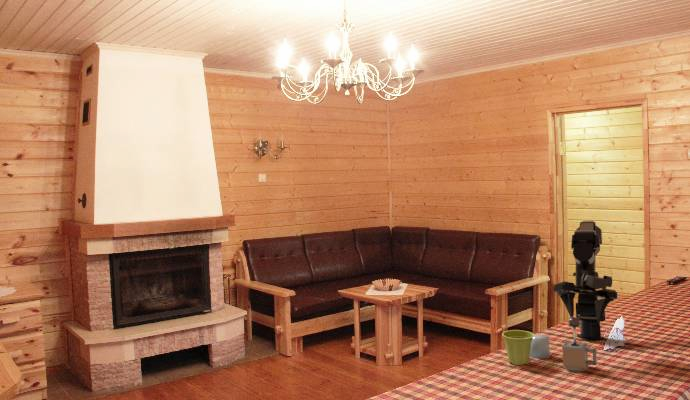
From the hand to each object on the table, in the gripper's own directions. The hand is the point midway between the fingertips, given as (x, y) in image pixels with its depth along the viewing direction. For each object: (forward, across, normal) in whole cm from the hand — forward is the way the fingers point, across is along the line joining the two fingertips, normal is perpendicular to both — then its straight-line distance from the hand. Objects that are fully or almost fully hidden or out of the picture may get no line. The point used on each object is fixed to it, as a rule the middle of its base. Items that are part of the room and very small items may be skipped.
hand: (585, 319), depth 181 cm
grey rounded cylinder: (+12, -10, +10) cm, 18 cm away
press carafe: (+15, -5, -4) cm, 16 cm away
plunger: (+11, -7, -5) cm, 13 cm away
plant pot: (+15, -18, +7) cm, 25 cm away
